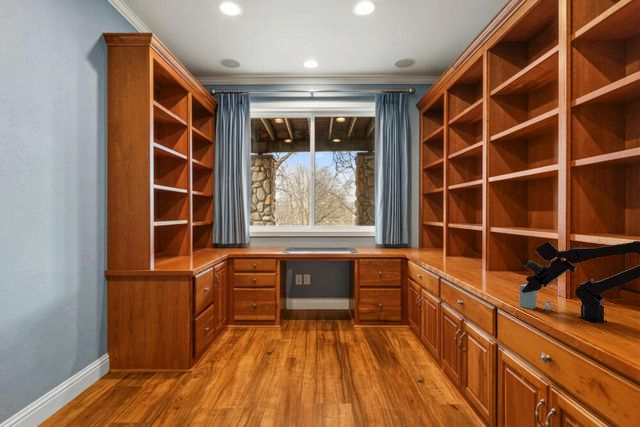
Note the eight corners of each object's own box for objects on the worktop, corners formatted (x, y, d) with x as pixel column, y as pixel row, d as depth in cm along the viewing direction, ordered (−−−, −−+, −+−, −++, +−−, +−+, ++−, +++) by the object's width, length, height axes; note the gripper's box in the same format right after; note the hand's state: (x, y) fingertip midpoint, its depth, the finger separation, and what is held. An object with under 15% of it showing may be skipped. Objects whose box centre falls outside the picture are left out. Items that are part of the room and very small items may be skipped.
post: (554, 311, 136) (554, 302, 136) (548, 312, 135) (548, 302, 135) (548, 309, 139) (548, 300, 139) (542, 309, 138) (542, 300, 138)
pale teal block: (536, 306, 142) (536, 286, 142) (532, 309, 139) (532, 287, 139) (523, 304, 146) (523, 284, 146) (519, 306, 143) (519, 285, 143)
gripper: (545, 252, 145) (518, 273, 154) (531, 256, 133) (502, 279, 142) (567, 273, 140) (537, 293, 148) (554, 279, 127) (522, 301, 136)
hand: (524, 291), depth 144 cm, fingers closed on pale teal block, 5 cm apart
